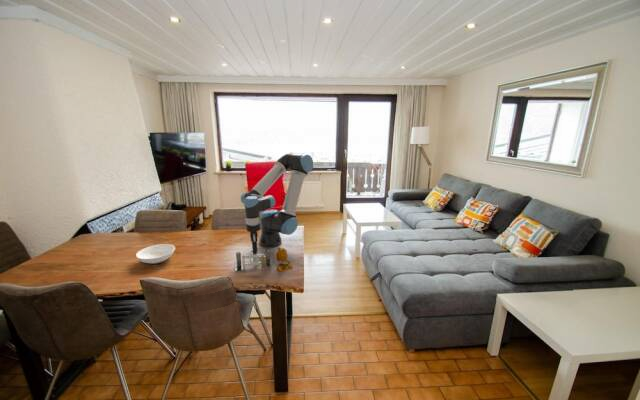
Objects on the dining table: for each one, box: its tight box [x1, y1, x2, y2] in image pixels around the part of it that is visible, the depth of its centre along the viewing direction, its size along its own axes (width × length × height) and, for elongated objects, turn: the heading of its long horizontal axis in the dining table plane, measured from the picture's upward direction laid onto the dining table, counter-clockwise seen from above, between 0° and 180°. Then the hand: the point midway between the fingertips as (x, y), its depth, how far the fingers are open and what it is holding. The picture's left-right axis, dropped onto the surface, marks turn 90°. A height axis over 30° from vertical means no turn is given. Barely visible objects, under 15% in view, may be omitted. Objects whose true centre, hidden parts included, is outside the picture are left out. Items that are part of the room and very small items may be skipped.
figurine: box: [272, 246, 293, 272], centre depth 149 cm, size 8×11×12 cm
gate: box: [241, 252, 265, 269], centre depth 149 cm, size 12×1×8 cm, turn 104°
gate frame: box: [234, 248, 271, 273], centre depth 149 cm, size 4×19×10 cm, turn 105°
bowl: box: [135, 243, 176, 264], centre depth 156 cm, size 20×20×6 cm
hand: (255, 261), depth 155 cm, fingers closed
